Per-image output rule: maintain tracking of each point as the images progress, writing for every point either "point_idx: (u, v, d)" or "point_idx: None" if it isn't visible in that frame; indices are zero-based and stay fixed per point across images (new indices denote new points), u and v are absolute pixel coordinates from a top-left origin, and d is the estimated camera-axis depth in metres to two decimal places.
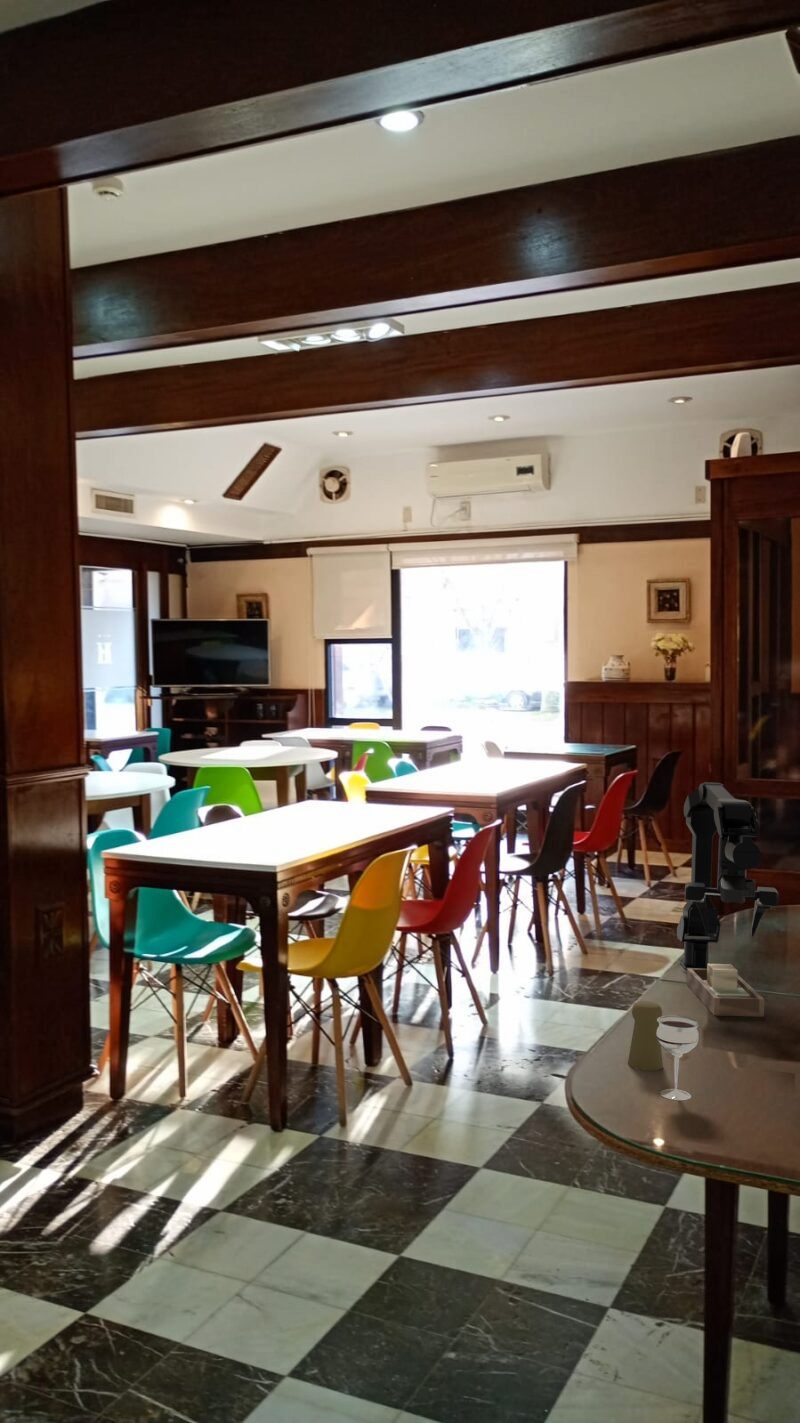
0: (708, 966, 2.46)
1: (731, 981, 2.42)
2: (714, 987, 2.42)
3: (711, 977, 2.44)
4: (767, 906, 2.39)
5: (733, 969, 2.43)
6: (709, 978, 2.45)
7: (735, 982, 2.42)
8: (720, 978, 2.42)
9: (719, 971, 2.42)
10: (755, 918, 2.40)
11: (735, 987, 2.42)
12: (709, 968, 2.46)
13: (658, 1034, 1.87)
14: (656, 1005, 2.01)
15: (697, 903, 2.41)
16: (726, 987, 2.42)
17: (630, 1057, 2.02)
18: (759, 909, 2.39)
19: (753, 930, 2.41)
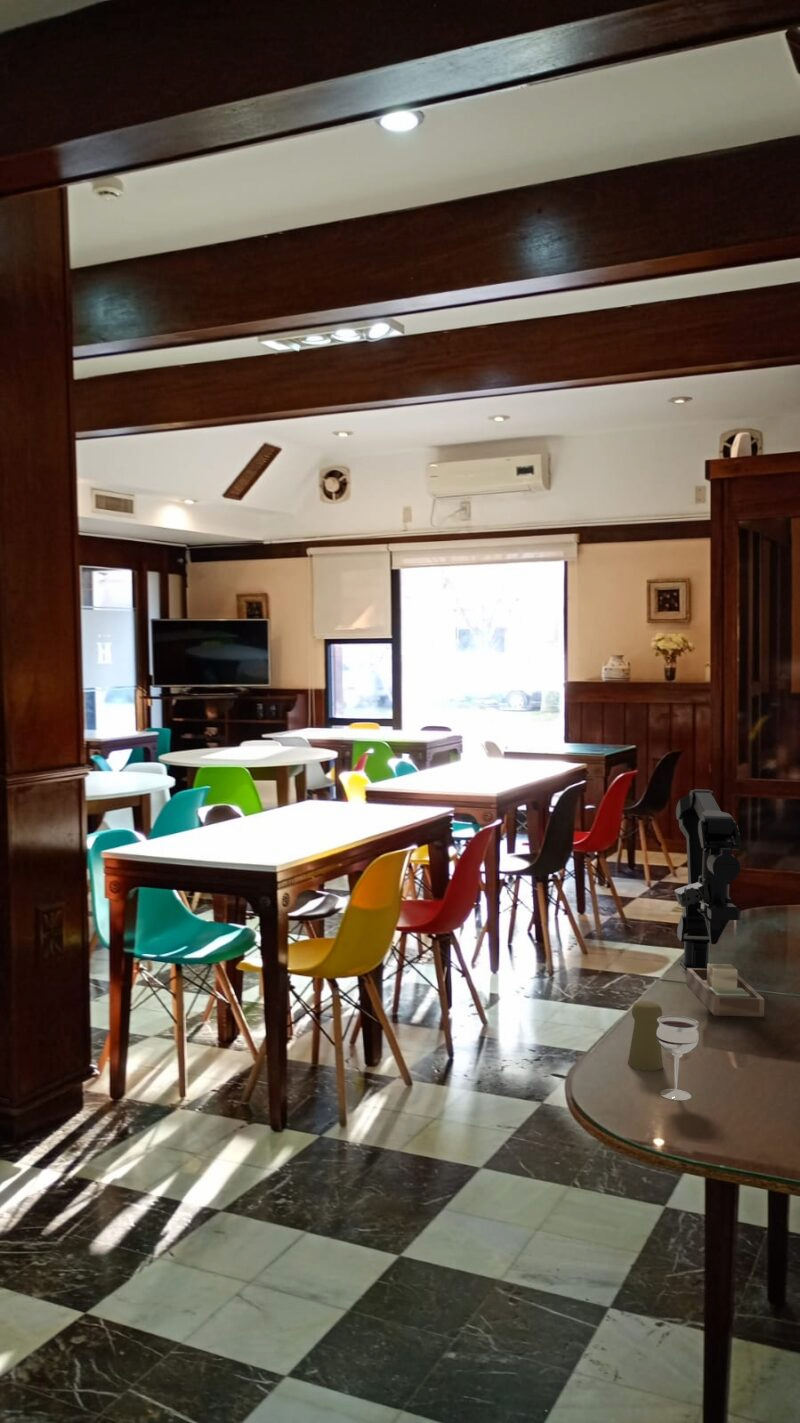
0: (708, 966, 2.46)
1: (731, 981, 2.42)
2: (714, 987, 2.42)
3: (711, 977, 2.44)
4: (707, 914, 2.49)
5: (733, 969, 2.43)
6: (709, 978, 2.45)
7: (735, 982, 2.42)
8: (720, 978, 2.42)
9: (719, 971, 2.42)
10: (708, 925, 2.52)
11: (735, 987, 2.42)
12: (709, 968, 2.46)
13: (658, 1034, 1.87)
14: (656, 1005, 2.01)
15: (698, 910, 2.54)
16: (726, 987, 2.42)
17: (630, 1057, 2.02)
18: (704, 916, 2.51)
19: (710, 937, 2.52)
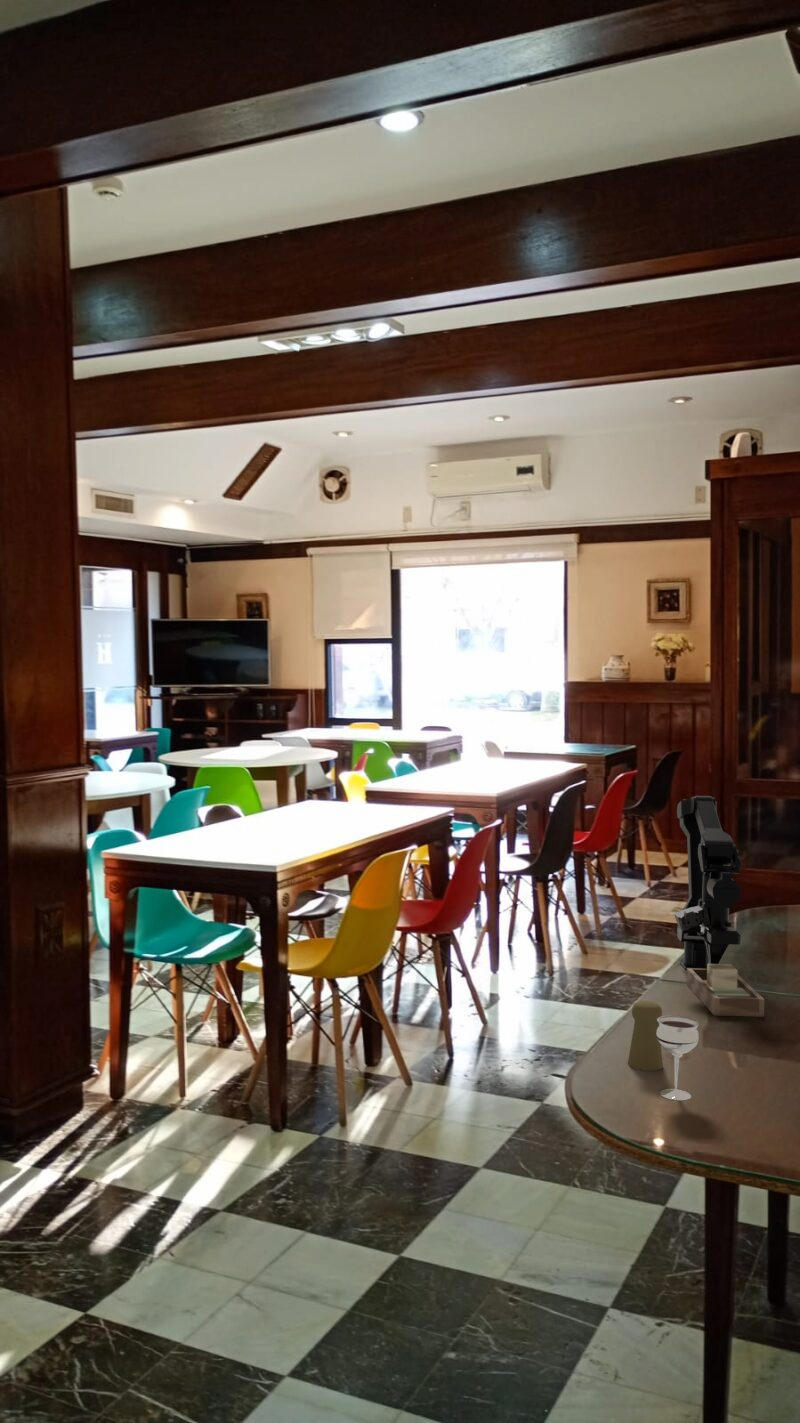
0: (708, 966, 2.46)
1: (731, 981, 2.42)
2: (714, 987, 2.42)
3: (711, 977, 2.44)
4: (707, 938, 2.49)
5: (733, 969, 2.43)
6: (709, 978, 2.45)
7: (735, 982, 2.42)
8: (720, 978, 2.42)
9: (719, 971, 2.42)
10: (708, 949, 2.51)
11: (735, 987, 2.42)
12: (709, 968, 2.46)
13: (658, 1034, 1.87)
14: (656, 1005, 2.01)
15: (698, 934, 2.54)
16: (726, 987, 2.42)
17: (630, 1057, 2.02)
18: None
19: (710, 961, 2.51)
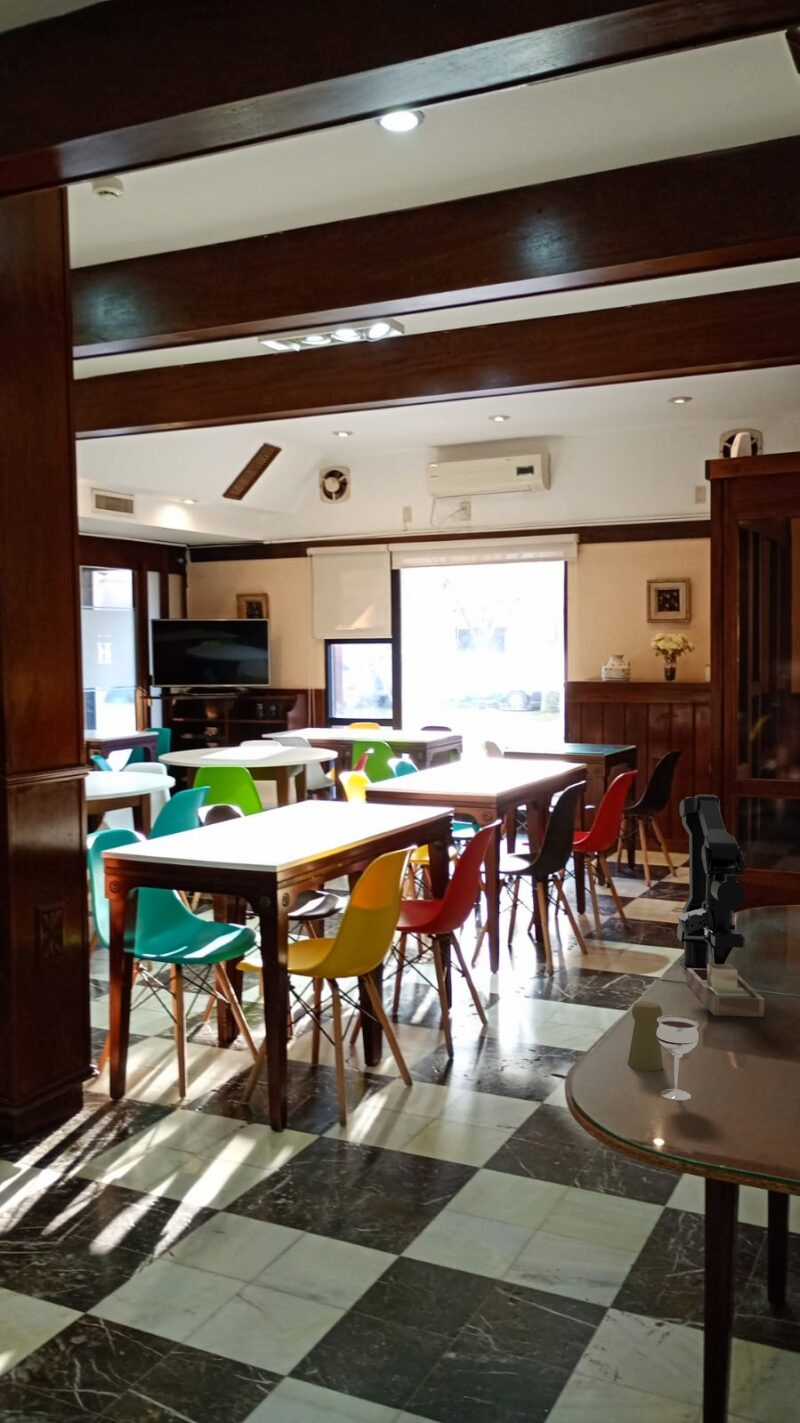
0: (708, 966, 2.46)
1: (731, 981, 2.42)
2: (714, 987, 2.42)
3: (711, 977, 2.44)
4: (711, 941, 2.46)
5: (733, 969, 2.43)
6: (709, 978, 2.45)
7: (735, 982, 2.42)
8: (720, 978, 2.42)
9: (719, 971, 2.42)
10: (712, 952, 2.48)
11: (735, 987, 2.42)
12: (709, 968, 2.46)
13: (658, 1034, 1.87)
14: (656, 1005, 2.01)
15: (702, 937, 2.51)
16: (726, 987, 2.42)
17: (630, 1057, 2.02)
18: (708, 943, 2.47)
19: None
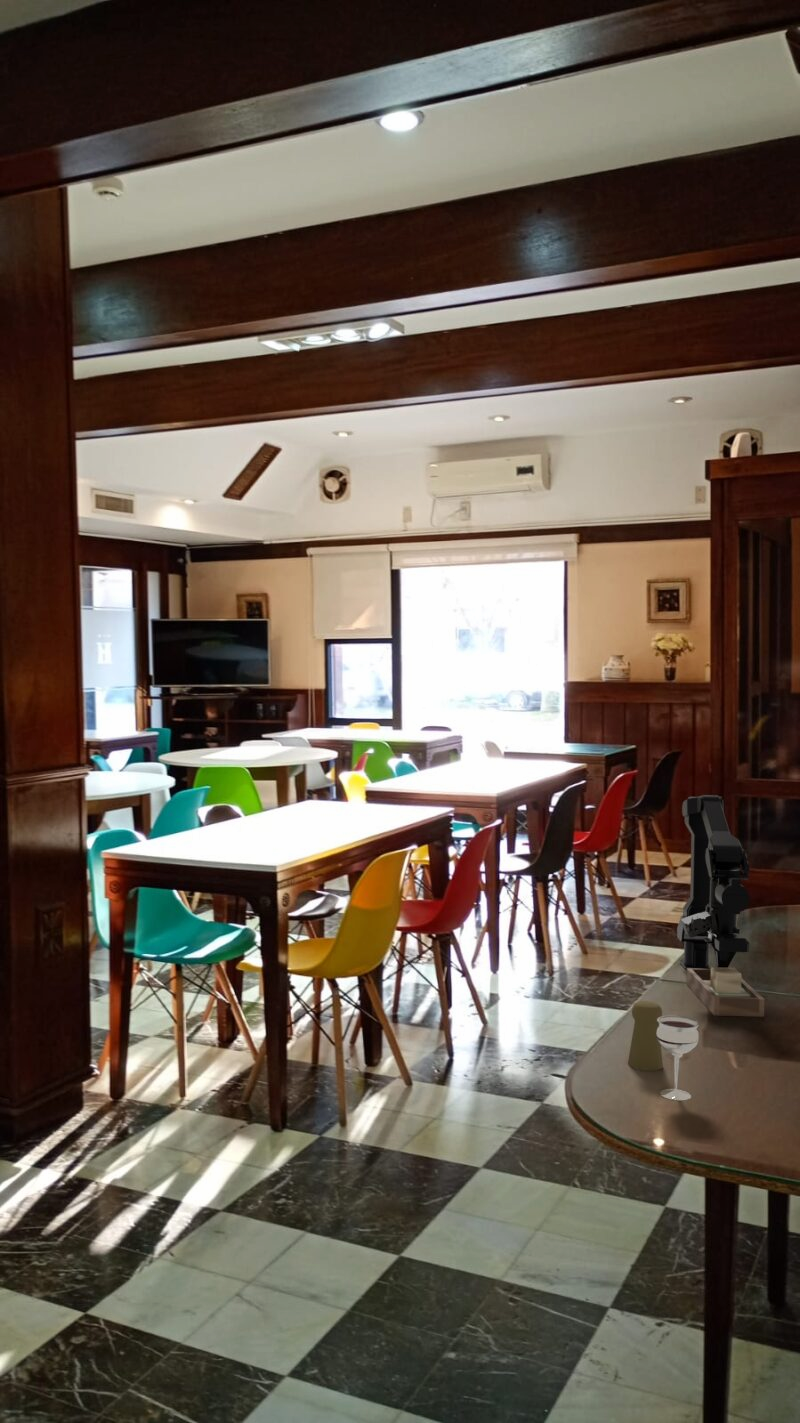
0: (712, 970, 2.43)
1: (735, 984, 2.39)
2: (718, 991, 2.40)
3: (715, 981, 2.41)
4: (715, 945, 2.43)
5: (737, 973, 2.40)
6: (713, 982, 2.42)
7: (739, 986, 2.40)
8: (723, 981, 2.39)
9: (723, 975, 2.39)
10: (716, 956, 2.45)
11: (739, 991, 2.40)
12: (713, 972, 2.43)
13: (658, 1034, 1.87)
14: (656, 1005, 2.01)
15: (705, 940, 2.48)
16: (730, 991, 2.40)
17: (630, 1057, 2.02)
18: (711, 946, 2.44)
19: None
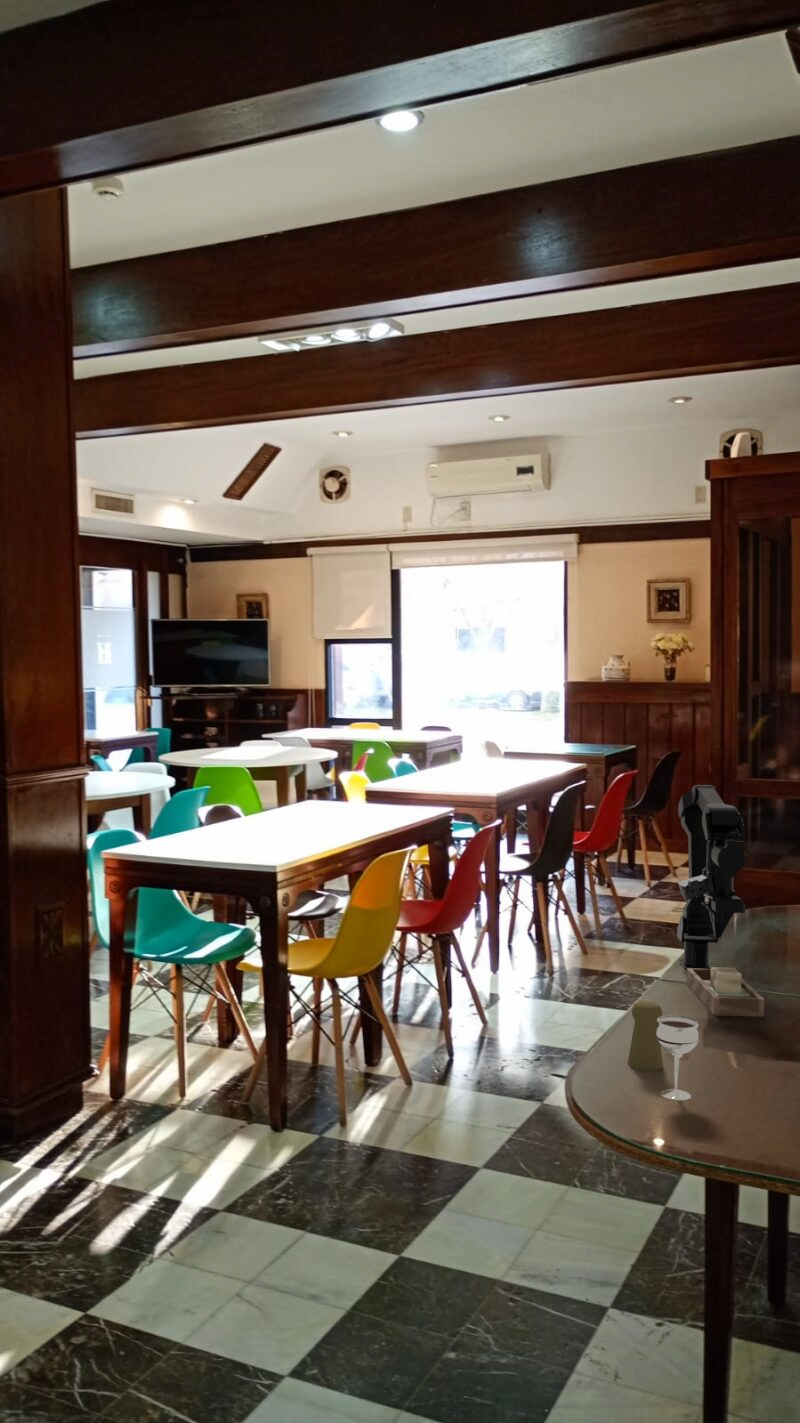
0: (712, 970, 2.43)
1: (735, 984, 2.39)
2: (718, 991, 2.40)
3: (715, 981, 2.41)
4: (711, 907, 2.46)
5: (737, 973, 2.40)
6: (713, 982, 2.42)
7: (739, 986, 2.40)
8: (723, 981, 2.39)
9: (723, 975, 2.39)
10: (713, 919, 2.48)
11: (739, 991, 2.40)
12: (713, 972, 2.43)
13: (658, 1034, 1.87)
14: (656, 1005, 2.01)
15: (702, 903, 2.51)
16: (730, 991, 2.40)
17: (630, 1057, 2.02)
18: None
19: (714, 931, 2.49)
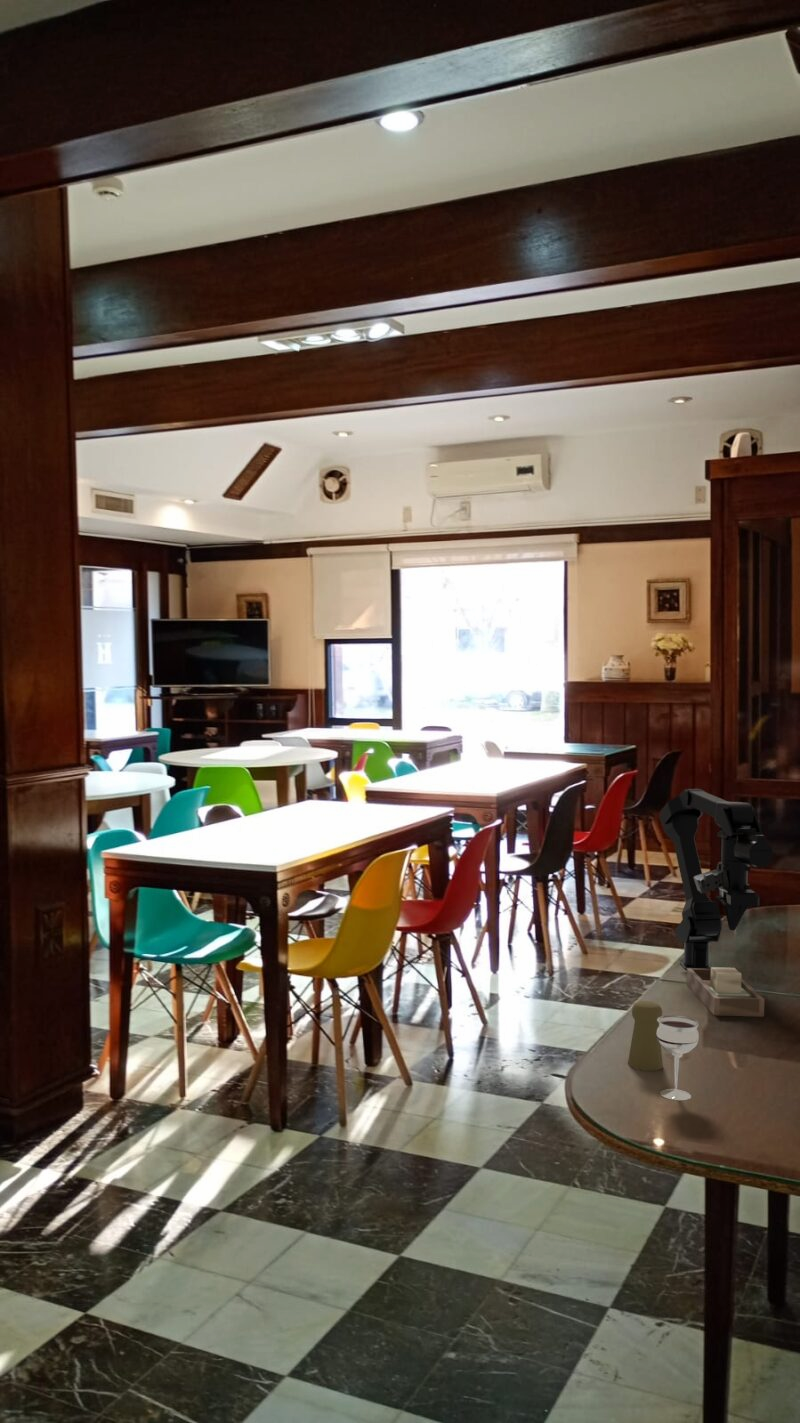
0: (712, 970, 2.43)
1: (735, 984, 2.39)
2: (718, 991, 2.40)
3: (715, 981, 2.41)
4: (726, 901, 2.52)
5: (737, 973, 2.40)
6: (713, 982, 2.42)
7: (739, 986, 2.40)
8: (723, 981, 2.39)
9: (723, 975, 2.39)
10: (727, 912, 2.55)
11: (739, 991, 2.40)
12: (713, 972, 2.43)
13: (658, 1034, 1.87)
14: (656, 1005, 2.01)
15: (717, 897, 2.58)
16: (730, 991, 2.40)
17: (630, 1057, 2.02)
18: (723, 902, 2.54)
19: (729, 923, 2.55)
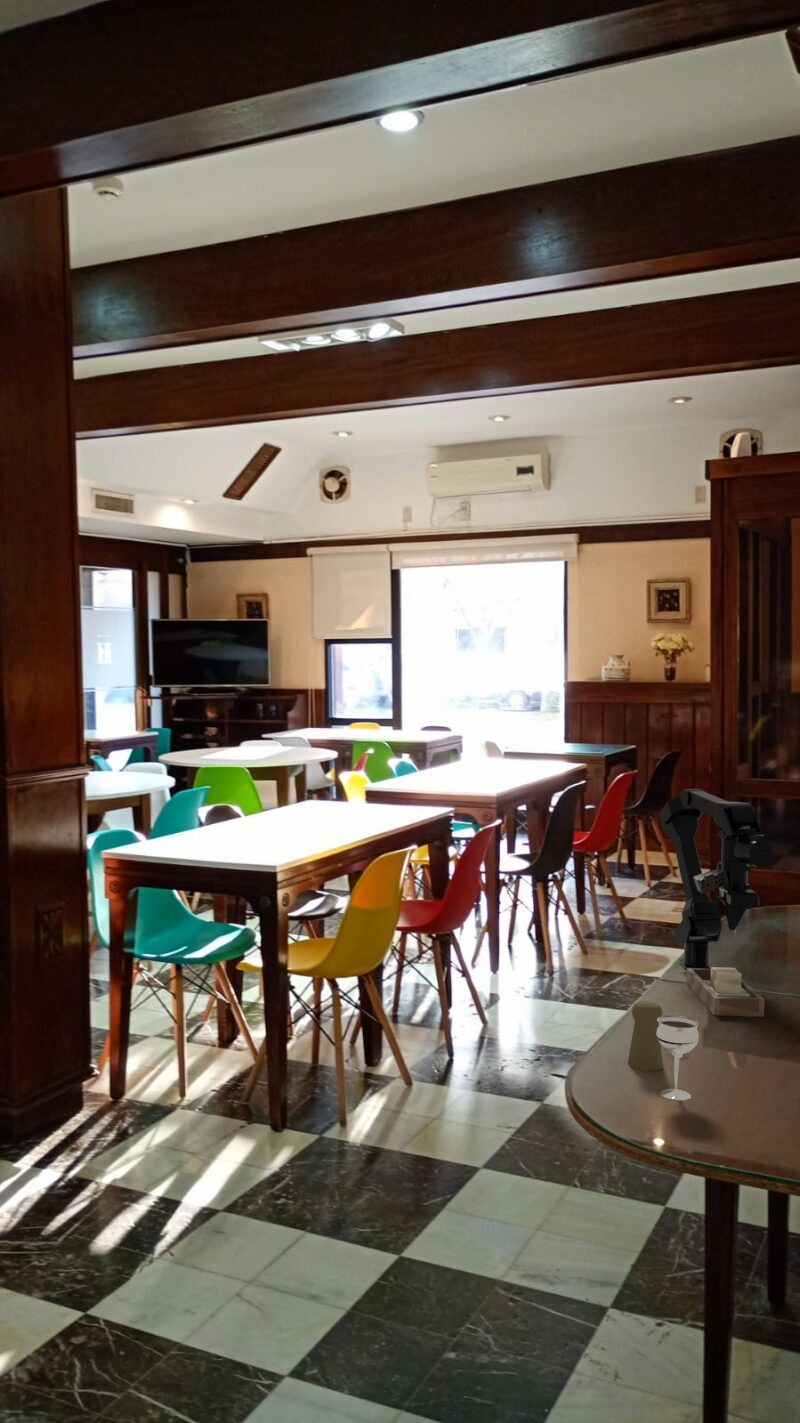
0: (712, 970, 2.43)
1: (735, 984, 2.39)
2: (718, 991, 2.40)
3: (715, 981, 2.41)
4: (726, 901, 2.52)
5: (737, 973, 2.40)
6: (713, 982, 2.42)
7: (739, 986, 2.40)
8: (723, 981, 2.39)
9: (723, 975, 2.39)
10: (727, 912, 2.55)
11: (739, 991, 2.40)
12: (713, 972, 2.43)
13: (658, 1034, 1.87)
14: (656, 1005, 2.01)
15: (717, 897, 2.58)
16: (730, 991, 2.40)
17: (630, 1057, 2.02)
18: (723, 902, 2.54)
19: (729, 923, 2.55)
